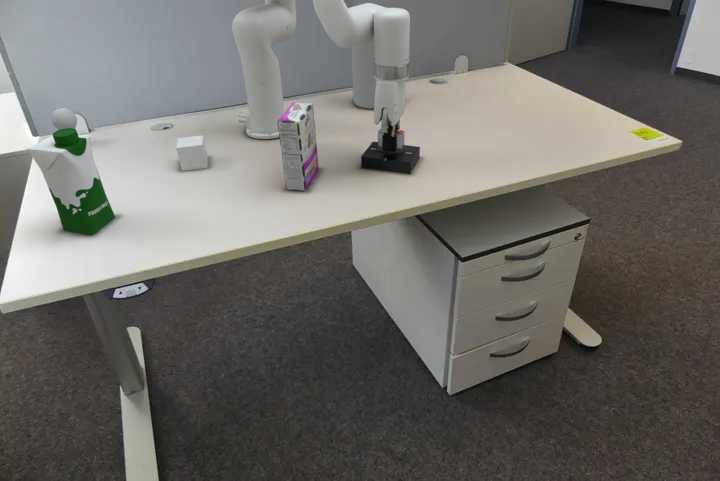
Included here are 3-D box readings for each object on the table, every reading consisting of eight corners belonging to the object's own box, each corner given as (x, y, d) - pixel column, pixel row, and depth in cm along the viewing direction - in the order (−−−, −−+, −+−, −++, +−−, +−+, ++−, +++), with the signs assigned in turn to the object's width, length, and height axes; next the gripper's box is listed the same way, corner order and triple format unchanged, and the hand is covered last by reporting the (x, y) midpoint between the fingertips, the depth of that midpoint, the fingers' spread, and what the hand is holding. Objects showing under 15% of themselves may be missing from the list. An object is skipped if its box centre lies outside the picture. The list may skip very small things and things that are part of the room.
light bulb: (89, 144, 140) (76, 108, 134) (66, 151, 137) (53, 114, 131) (79, 138, 143) (67, 103, 138) (57, 145, 140) (44, 109, 134)
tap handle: (377, 151, 124) (377, 130, 121) (380, 148, 126) (380, 127, 123) (402, 154, 122) (402, 133, 119) (404, 151, 124) (404, 130, 121)
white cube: (207, 167, 126) (202, 144, 123) (182, 171, 125) (176, 148, 122) (207, 157, 131) (202, 135, 128) (183, 160, 130) (177, 138, 127)
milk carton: (93, 238, 102) (56, 143, 90) (55, 232, 104) (15, 138, 93) (122, 215, 109) (91, 124, 97) (86, 210, 111) (52, 120, 100)
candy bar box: (299, 168, 125) (292, 101, 115) (319, 169, 124) (314, 102, 115) (284, 190, 116) (275, 119, 106) (306, 192, 115) (299, 121, 106)
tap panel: (360, 168, 123) (360, 156, 122) (373, 151, 131) (373, 139, 130) (409, 175, 120) (409, 163, 118) (420, 157, 128) (420, 145, 126)
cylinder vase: (374, 93, 168) (373, 9, 154) (402, 102, 160) (404, 15, 146) (345, 102, 161) (341, 16, 147) (373, 112, 153) (372, 22, 139)
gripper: (385, 59, 121) (385, 134, 131) (363, 80, 108) (365, 161, 119) (417, 61, 118) (414, 137, 129) (398, 83, 106) (396, 165, 116)
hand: (390, 148), depth 124 cm, fingers closed on tap handle, 2 cm apart
